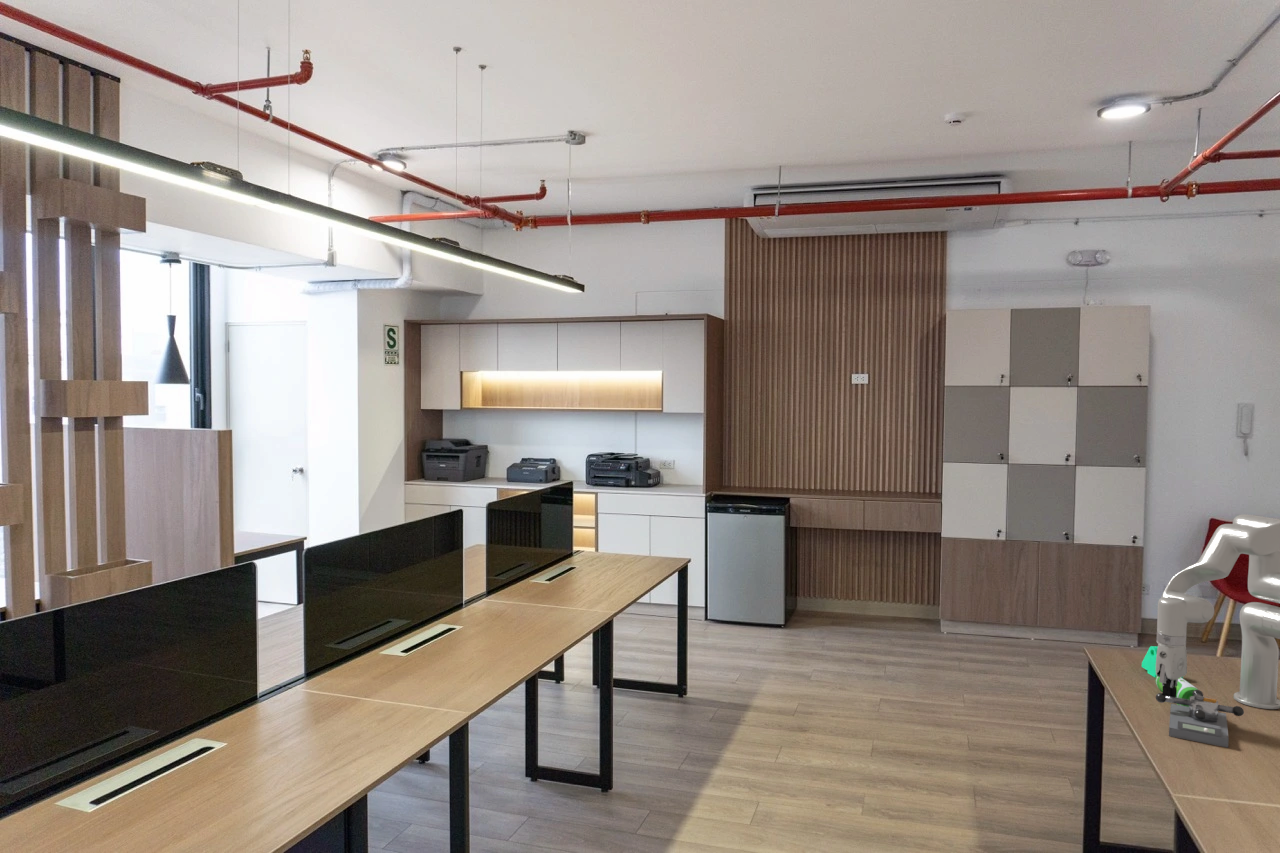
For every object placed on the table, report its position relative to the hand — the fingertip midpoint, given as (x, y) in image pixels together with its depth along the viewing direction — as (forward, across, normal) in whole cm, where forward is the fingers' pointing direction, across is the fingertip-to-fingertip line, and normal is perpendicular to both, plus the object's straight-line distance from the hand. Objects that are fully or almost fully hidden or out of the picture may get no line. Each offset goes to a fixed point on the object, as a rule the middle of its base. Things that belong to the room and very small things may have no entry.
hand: (1169, 699), depth 260 cm
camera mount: (+6, +38, +19) cm, 44 cm away
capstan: (+3, +1, -8) cm, 8 cm away
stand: (+6, -2, -9) cm, 11 cm away
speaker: (+6, +17, +5) cm, 19 cm away
